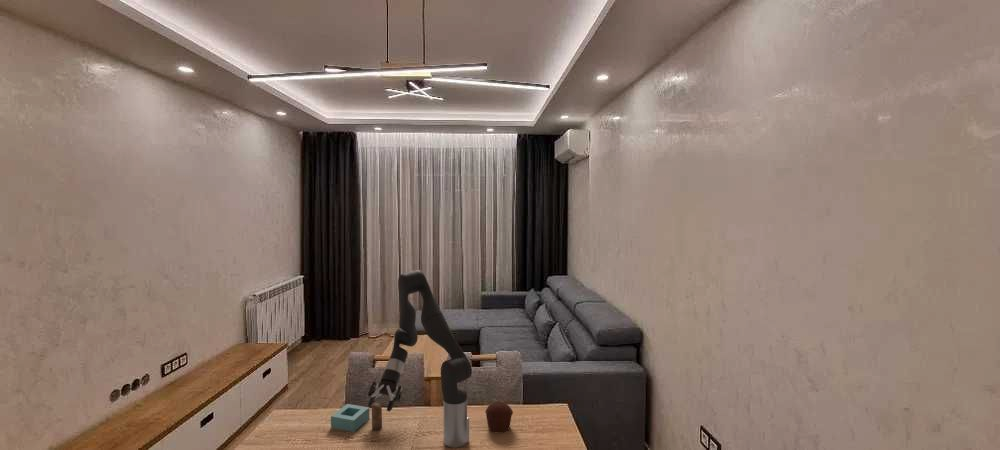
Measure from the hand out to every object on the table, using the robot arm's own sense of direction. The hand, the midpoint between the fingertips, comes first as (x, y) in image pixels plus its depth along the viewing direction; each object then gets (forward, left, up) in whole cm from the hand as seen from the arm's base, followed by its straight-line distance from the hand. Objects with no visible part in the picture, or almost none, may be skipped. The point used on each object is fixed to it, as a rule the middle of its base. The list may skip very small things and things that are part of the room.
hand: (379, 409), depth 183 cm
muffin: (-44, +24, -7) cm, 51 cm away
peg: (+1, +1, -7) cm, 7 cm away
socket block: (+10, -8, -7) cm, 15 cm away
